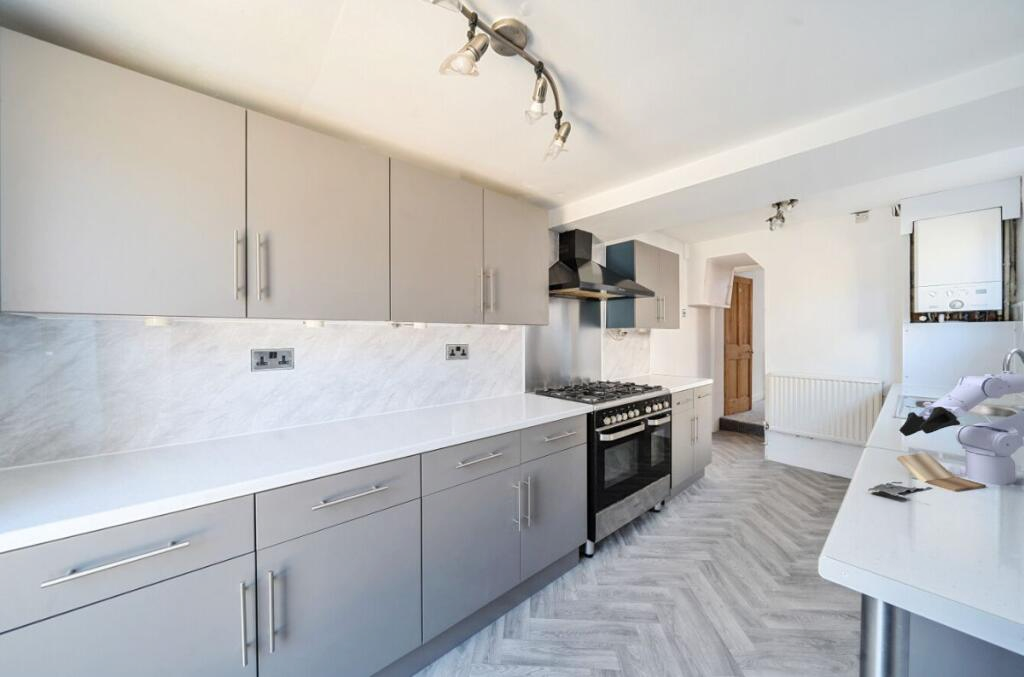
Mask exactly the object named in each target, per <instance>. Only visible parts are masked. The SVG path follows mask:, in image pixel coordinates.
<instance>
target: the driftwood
mask: <svg viewBox="0 0 1024 677" xmlns="http://www.w3.org/2000/svg"><path fill="white" fill-rule="evenodd" d="M911 479H912V480H918V479H917V478H916V477H911ZM918 481H919V480H918ZM895 484H896V485H895ZM901 484H903V481H892V482H890V483H889V482H886V483H881V484H878V485H875V486H873V487H869V488H868V489H867V491H876V492H877V491H880V492H883V493H887V494H890V495H891V496H894V497H895V496H896V497H897V496H898V494H899V493H904V492H906V491H909V492H910V493H913V492H914V491H915V490H923V491H926V490H930V489H932V487H930V486H927V487H925V488H924V487H921V488H919V487H915V486H914V487H906V486H902V485H901Z"/></svg>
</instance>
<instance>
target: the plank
mask: <svg viewBox="0 0 1024 677" xmlns="http://www.w3.org/2000/svg"><path fill="white" fill-rule="evenodd" d="M896 460H897V461H898V462H899V463H900V464H901V465H902V466H903V467H905V468H906V470H908V471H909V473H911V474H912V475H913V476H914V478H916V479H918V481H919V482H922V483H928V481H931V480H938V479H946V478H953V477H956V476H955V475H954V474H952V473H951V472H950V471H949V470H948V469H947V468H946V467H945V466H943V464H941V463H940V462H939V461H938V460H936V459H935V458H934V457H933V456H932V455H931V454H930V453H928V452H923V453H914V454H906V455H899V456H898V457H897V458H896Z"/></svg>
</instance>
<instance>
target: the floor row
mask: <svg viewBox="0 0 1024 677" xmlns="http://www.w3.org/2000/svg"><path fill="white" fill-rule="evenodd" d="M927 484H928V485H932V486H935V487H938V488H941V489H945V490H947V491H952V492H956V493H957V492H965V491H969V490H977V489H985V488H987V486H986V485H987V484H986V483H982V482H978V481H974V480H971V479H967V478H964V477H963V478H961V477H959V476H955V477H953V478H946V479H938V480H931V481H928V482H927Z"/></svg>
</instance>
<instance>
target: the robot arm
mask: <svg viewBox="0 0 1024 677" xmlns="http://www.w3.org/2000/svg"><path fill="white" fill-rule="evenodd" d="M1020 393H1024V374H1020V373H1018V372H1013V370H1012V371H1011V370H1002V371H1001V373H996V374H995V373H985V374H984V375H982V376H981V375H979V376H978V375H968V376H962V377H960V378H959V380H958V383H957V385H956V386H954V387H953V389H952V390H950V391H949V392H947V394H945V395H943V396H942V397H940V398H939V399H937V400H936V401H934V402H933V403H932V402H931V401H925V402H923V406H924V408H923V410H921V411H920V413H915V412H914V411H912V412H909V413H908V414H907V418H906V420H905V422H904V423H903V425H901V427H900V428H899V430H898V431H900V433H901V434H903V436H904V437H908V436H911V435H914V434H916V433H919V432H921V431H922V432H923V433H924V434H930V433H934V432H937V431H940V430H942V429H944V428H948V427H953V426H960V425H961V423H960V421H959V420H958V418H961V417H963V416H964V415H966V414H967V412H969V411H970V410H971V411H972V409H974V408H976V407H977V406H978V405H980V404H981V403H983V402H984V401H986V400H987V399H997V400H999V399H1001V398H1002V397H1004V396H1005V395H1011V394H1020ZM1023 437H1024V410H1022V411H1019V412H1017V413H1014V414H1012V415H1010V416H1007V417H1005V418H1002V419H999V420H997V421H995V422H978V423H975V424H964V425H961V426H960V427H959V428H957V430H956V432H955V439H956V440H957V441H956V442H957V443H958V444H960V445H961V448H962V449H963V450H965V451H964V452H965V454H964V455H965V457H964V458H965V477H966V479H968V480H970V481H974V482H977V483H981V484H989V485H995V486H1006V485H1009V484H1011V483H1016V462H1015V460H1014V459H1013V458H1012V455H1013V454H1014V453H1016V451H1017V450H1018V449H1020V448H1022V447H1024V438H1023Z"/></svg>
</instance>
